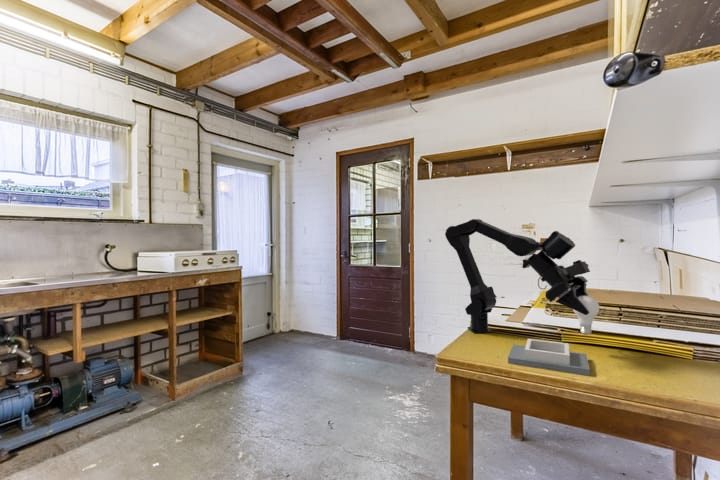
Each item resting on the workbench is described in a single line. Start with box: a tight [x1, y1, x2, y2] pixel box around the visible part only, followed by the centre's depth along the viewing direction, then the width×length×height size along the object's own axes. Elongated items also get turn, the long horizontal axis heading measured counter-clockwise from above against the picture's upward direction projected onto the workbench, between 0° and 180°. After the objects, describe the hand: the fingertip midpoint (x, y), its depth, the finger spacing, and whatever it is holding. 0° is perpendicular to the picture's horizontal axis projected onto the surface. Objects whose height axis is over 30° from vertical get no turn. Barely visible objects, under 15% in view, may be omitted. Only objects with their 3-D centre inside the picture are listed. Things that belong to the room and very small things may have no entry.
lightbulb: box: [572, 295, 600, 336], centre depth 95 cm, size 6×6×11 cm
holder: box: [507, 338, 591, 377], centre depth 90 cm, size 18×12×4 cm, turn 59°
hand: (591, 311), depth 94 cm, fingers closed on lightbulb, 6 cm apart
